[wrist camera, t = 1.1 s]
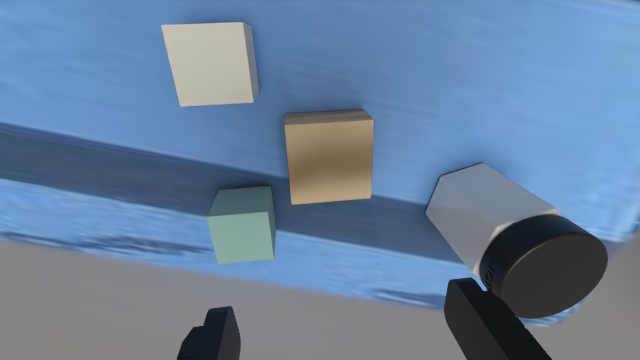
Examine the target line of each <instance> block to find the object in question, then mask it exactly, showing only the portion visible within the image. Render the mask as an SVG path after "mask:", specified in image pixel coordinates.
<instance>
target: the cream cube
mask: <svg viewBox="0 0 640 360" xmlns="http://www.w3.org/2000/svg"><path fill="white" fill-rule="evenodd" d="M161 27H162V32H163V36H164V40H165V44H166V48H167V53H168V57H169V61H170V65H171V69H172V74H173V78H174V82H175V86H176V90H177V95H178V99H179V103H180V107H182V106H200V105H218V104H235V103H253V102H254V101H255V99H256V97H257V95H258V93H259V85H258V77H257V69H256V60H255V52H254V44H253V36H252V28H251V26H250V25H248V24H246V23H244V22H232V23H205V24H177V25H161Z"/></svg>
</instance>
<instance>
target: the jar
mask: <svg viewBox="0 0 640 360" xmlns="http://www.w3.org/2000/svg"><path fill="white" fill-rule="evenodd" d="M425 214H426V215H427V217H428V218H429V219H430V220H431V222H432V223H433V224H434V225H435V227H436V228H437V229H438V230H439V232H440V233H441V234H442V235H443V237H444V238H445V239H446V240H447V242H448V243H449V245H451V247H452V248H453V250H454V251H455V252H456V253H457V254H458V256H459V257H460V258H461V259H462V260H463V262H464V263H465V264H466V265H467V267H468V268H469V269H470V270H471V272H472V273H473V274H474V275H476V276H477V277H478V278H479V279H480V280H481V281H482V283H483V284H484V286H485V287H486V288H487V290H488V291H491V292H492V293H494V294H495V295H496V296H498V297H499V298H500V299H502V300H503V301H504V302H505V303H506V304H507V305H508V306H509V308H510V309H511V310H512V311H513V313H514V314H515V316H516V317H520V318H527V319H534V318H542V317H547V316H551V315H554V314H557V313H559V312H562V311H564V310H566V309H568V308H570V307H572V306H573V305H575V304H577V303H578V302H579V301H581V300H582V299H583V298H585V297H586V296H587V295H588V294H589V293H590V292H591V291H592V290H593V289H594V288H595V287H596V285H597V284H598V283H599V281H600V280H601V278H602V276H603V275H604V272H605V270H606V267H607V262H608V255H607V251H606V248H605V246H604V244H603V243H602V242H601V241H600V240H599V239H598V238H596V237H595V236H593V235H592V234H590V233H589V232H587V231H585V230H584V229H582V228H581V227H579V226H577V225H576V224H574V223H573V222H571V221H570V220H568V219H566V218H564V217H563V216H562V214H561V213H560V212H559V211H558V209H557V208H555V207H554V206H552V205H551V204H549V203H547V202H546V201H544V200H543V199H541V198H539V197H538V196H536V195H534V194H533V193H531V192H530V191H528V190H526V189H525V188H523V187H522V186H520V185H518V184H517V183H515V182H513V181H512V180H510V179H509V178H507V177H505V176H504V175H502V174H501V173H499V172H497V171H496V170H494V169H492V168H491V167H489V166H488V165H486V164H484V163H481V164H478V165H474V166H471V167H468V168H465V169H462V170H459V171H456V172H453V173H449V174H446V175H443V176H441V177H440V179H439V181H438V184H437V186H436V188H435V191H434V193H433V195H432V198H431V200H430V202H429V205H428V207H427V209H426V212H425Z"/></svg>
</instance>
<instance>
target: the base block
mask: <svg viewBox="0 0 640 360" xmlns="http://www.w3.org/2000/svg"><path fill="white" fill-rule="evenodd" d="M285 136H286V147H287V158H288V169H289V180H290V191H291V202H292V205H293V204H305V203H317V202H330V201H342V200H354V199H366V198H371V184H372V160H373V136H374V119H373V118H372V117H371V116H369V115H368V114H367V113H366V112H365V111H364V110H363V109H357V110H340V111H323V112H307V113H290V114H285Z"/></svg>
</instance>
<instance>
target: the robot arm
mask: <svg viewBox="0 0 640 360" xmlns="http://www.w3.org/2000/svg"><path fill="white" fill-rule="evenodd" d="M444 314H445V318H446V322H447V324H448V326H449V328H450V330H451V331H452V333H453V335H454V337H455V339H456V341H457V342H458V344H459V346H460V348H461V350H462V351H463V353H464V355H465V357H466V359H467V360H552V359H551V358H550V356H549V355H548V354H547V353H546V352H545V350H544V349H543V348H542V347H541V345H540V344H539V343H538V342H537V341H536V339H535V338H534V337H533V336H532V334H530V332H529V331H528V330H527V329H525V327H524V325H523V323H522V322H521V321H520V320H519V319H518V317H516V316H515V314H514V313H513V311H512V310H511V309H510V308H509V306H508V305H507V304H506V303H505V302H504V301H503V300H502V299H500V298H499V297H498V296H496V295H495V294H494V293H492V292H491V291H483V290H482V289H481V287H480V286H479V285H478V283H477V282H476V281H475V280H474V279H473V278H471V277H469V278H461V279H452V280H450V281H449V283H448V288H447V294H446V300H445V305H444ZM240 343H241V342H240V333H239V329H238V326H237V322H236V319H235V315H234V311H233V308H232V307H231V306H228V307H220V308H212V309H209V310H208V313H207V315H206V319H205V322H204V326H199V327H193V329H192V330H191V331H190V333H189V334H188V335H187V337H186V338H185V339H184V341H183V342H182V345H181V348H180V351H179V354H178V356H177V360H239V356H240V345H241V344H240Z"/></svg>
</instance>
